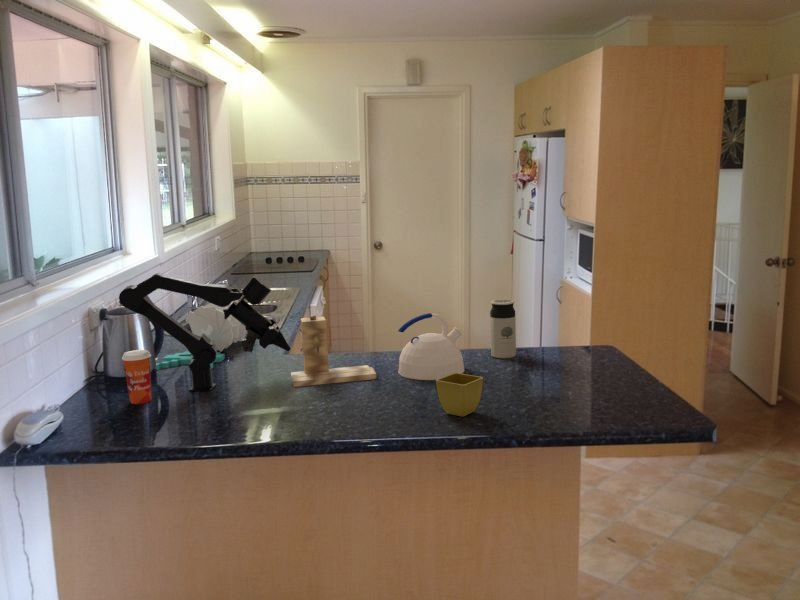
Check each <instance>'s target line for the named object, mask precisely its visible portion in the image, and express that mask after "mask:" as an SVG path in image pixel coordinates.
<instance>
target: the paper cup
mask: <svg viewBox="0 0 800 600" xmlns="http://www.w3.org/2000/svg"><path fill="white" fill-rule="evenodd" d="M150 357H152V354H151V352H150V351H148V350H147V349H134V350H130V351H125V352H124V353H123V355H122V357H121V360H122V362H123V370H124V374H125V380H126V386H127V391H128V396H129V397H128V398H129V402H130V403H131V404H132V405H142V404H147V403H149V402H151V401H152V380H151V379H152V376H151V358H150Z"/></svg>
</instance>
